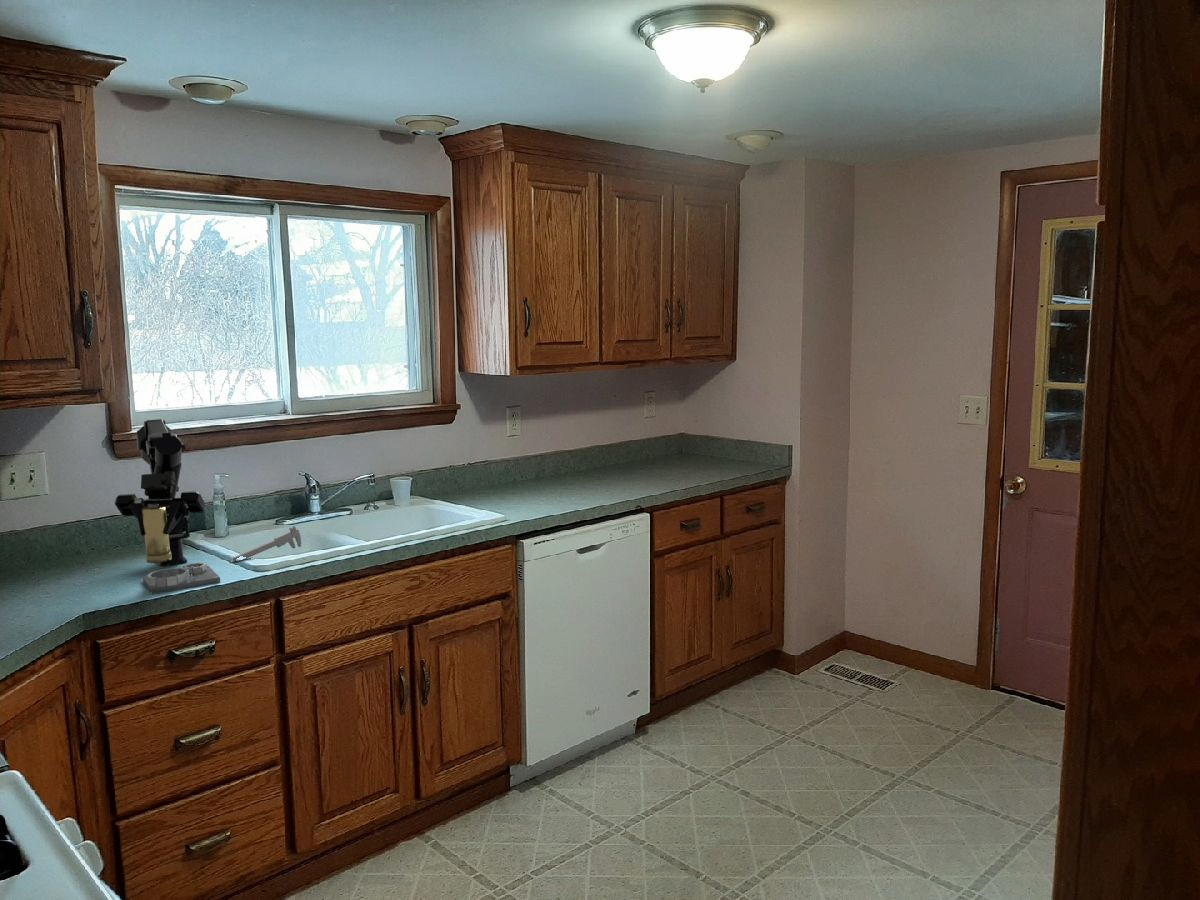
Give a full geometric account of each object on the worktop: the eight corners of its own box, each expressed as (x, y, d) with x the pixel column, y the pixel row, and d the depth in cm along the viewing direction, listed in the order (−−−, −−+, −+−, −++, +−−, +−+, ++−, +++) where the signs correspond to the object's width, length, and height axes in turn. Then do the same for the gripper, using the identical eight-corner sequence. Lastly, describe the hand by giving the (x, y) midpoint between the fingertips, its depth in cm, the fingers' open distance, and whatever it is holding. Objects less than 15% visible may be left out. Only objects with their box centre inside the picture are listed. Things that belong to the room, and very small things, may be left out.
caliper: (299, 547, 253) (297, 524, 252) (301, 547, 252) (299, 525, 251) (229, 563, 237) (226, 540, 237) (231, 564, 237) (229, 540, 236)
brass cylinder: (143, 560, 216) (137, 504, 213) (167, 555, 219) (161, 500, 217) (151, 564, 212) (145, 507, 209) (175, 559, 215) (169, 503, 213)
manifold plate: (143, 581, 222) (141, 568, 222) (208, 570, 230) (207, 558, 230) (151, 594, 211) (150, 580, 211) (220, 582, 220) (219, 569, 219)
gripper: (113, 461, 214) (99, 518, 205) (196, 457, 217) (186, 513, 208) (129, 487, 223) (116, 543, 214) (209, 483, 226) (199, 538, 217)
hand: (154, 534), depth 213 cm, fingers closed on brass cylinder, 5 cm apart
